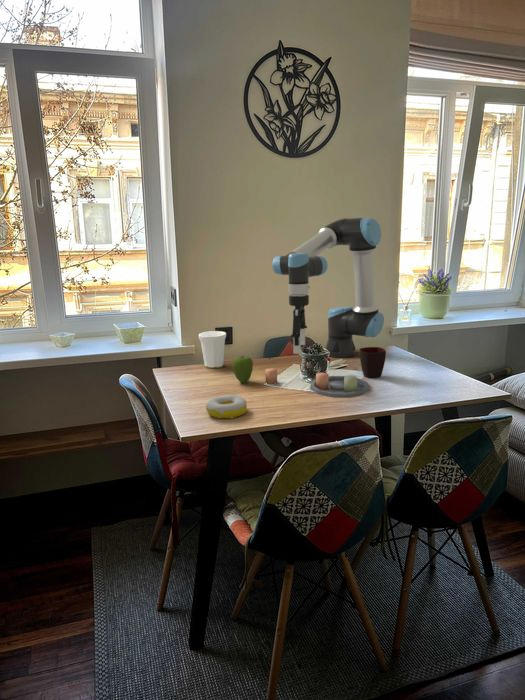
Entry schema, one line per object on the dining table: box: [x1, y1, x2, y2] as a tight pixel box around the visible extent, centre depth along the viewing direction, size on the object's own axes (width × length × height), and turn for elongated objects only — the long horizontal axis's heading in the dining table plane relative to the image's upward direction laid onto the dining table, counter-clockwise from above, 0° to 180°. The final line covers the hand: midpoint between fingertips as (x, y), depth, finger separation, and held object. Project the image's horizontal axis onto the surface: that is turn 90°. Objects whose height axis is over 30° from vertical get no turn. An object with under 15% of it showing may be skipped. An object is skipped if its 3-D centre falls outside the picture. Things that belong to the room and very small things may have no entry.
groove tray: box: [309, 375, 370, 398], centre depth 195 cm, size 22×22×2 cm
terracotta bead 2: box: [315, 372, 330, 390], centre depth 194 cm, size 5×5×6 cm
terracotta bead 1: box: [264, 367, 278, 385], centre depth 205 cm, size 5×5×6 cm
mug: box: [359, 346, 387, 379], centre depth 209 cm, size 10×14×12 cm
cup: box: [198, 330, 227, 368], centre depth 231 cm, size 12×12×15 cm
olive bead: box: [344, 375, 358, 393], centre depth 189 cm, size 5×5×6 cm
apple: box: [232, 355, 254, 384], centre depth 206 cm, size 9×8×12 cm
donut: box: [205, 394, 248, 419], centre depth 174 cm, size 14×14×5 cm
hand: (299, 349), depth 196 cm, fingers open, 13 cm apart
